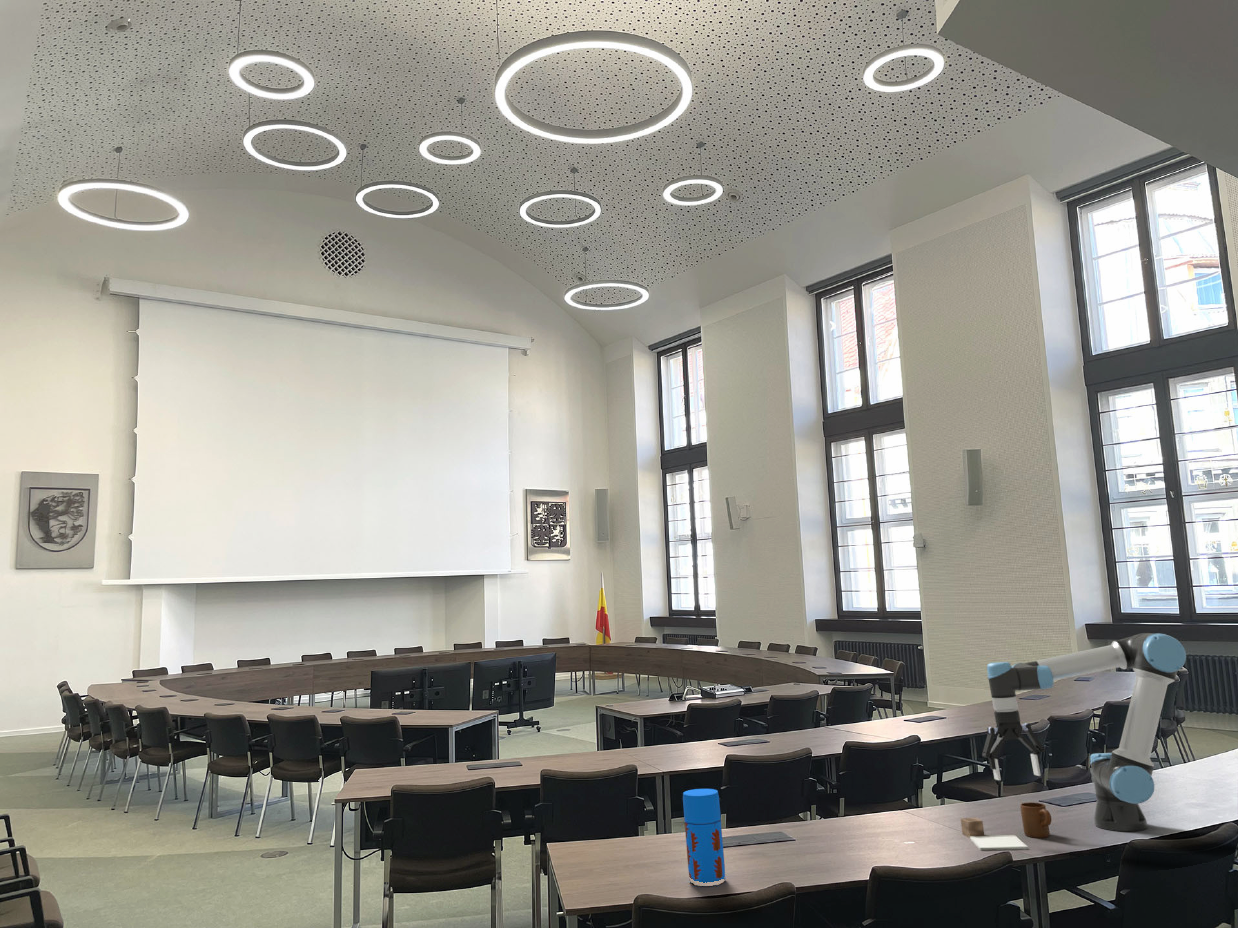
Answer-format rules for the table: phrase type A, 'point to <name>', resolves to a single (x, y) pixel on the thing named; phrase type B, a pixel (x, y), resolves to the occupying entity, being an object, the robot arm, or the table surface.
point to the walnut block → (972, 827)
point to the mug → (1035, 820)
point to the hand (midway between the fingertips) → (1017, 777)
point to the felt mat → (998, 842)
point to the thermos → (703, 835)
